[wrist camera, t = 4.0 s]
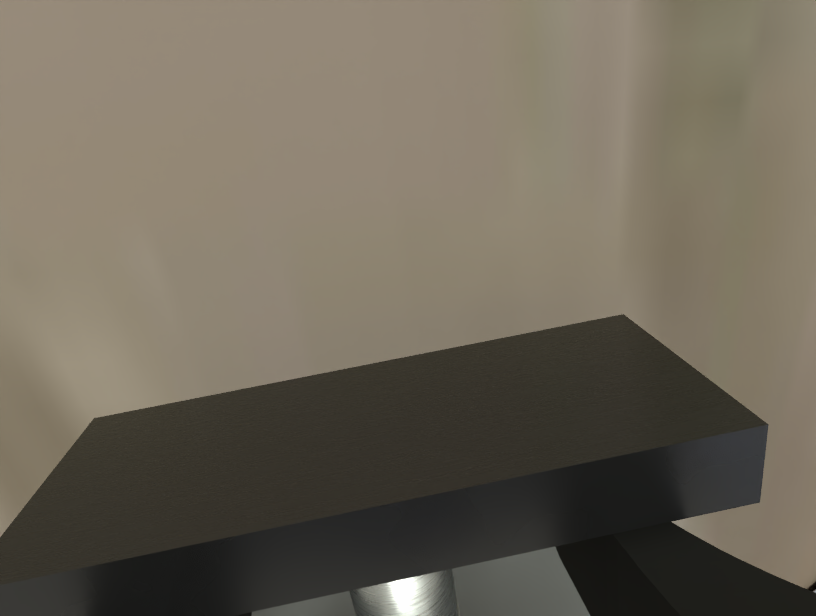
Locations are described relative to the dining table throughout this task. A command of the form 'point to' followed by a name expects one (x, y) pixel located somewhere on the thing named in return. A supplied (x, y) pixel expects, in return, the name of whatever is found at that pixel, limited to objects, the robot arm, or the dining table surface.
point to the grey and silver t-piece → (379, 479)
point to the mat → (482, 590)
